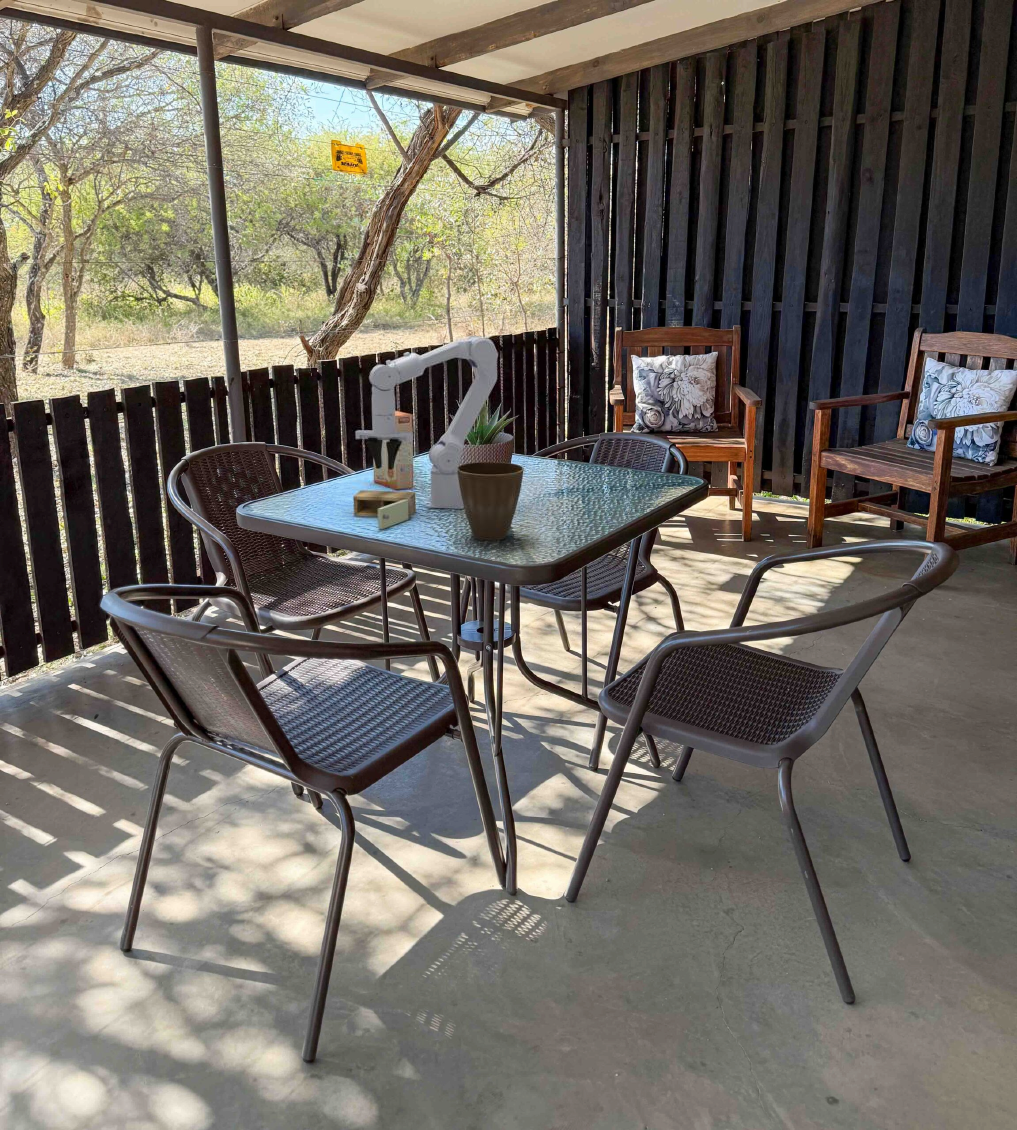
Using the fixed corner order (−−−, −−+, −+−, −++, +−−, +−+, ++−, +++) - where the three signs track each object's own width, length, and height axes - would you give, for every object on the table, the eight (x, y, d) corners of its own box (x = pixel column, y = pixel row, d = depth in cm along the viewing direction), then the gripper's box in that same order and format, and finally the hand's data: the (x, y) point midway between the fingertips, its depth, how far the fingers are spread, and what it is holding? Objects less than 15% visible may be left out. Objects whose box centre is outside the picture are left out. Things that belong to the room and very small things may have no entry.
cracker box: (415, 488, 268) (413, 413, 262) (395, 491, 265) (394, 415, 259) (391, 480, 279) (389, 408, 273) (373, 482, 276) (370, 409, 270)
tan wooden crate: (415, 511, 241) (415, 492, 239) (409, 518, 234) (409, 498, 233) (361, 509, 242) (360, 490, 241) (354, 516, 236) (353, 496, 234)
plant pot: (531, 543, 213) (532, 472, 208) (466, 547, 208) (466, 475, 204) (512, 527, 226) (512, 460, 222) (450, 531, 222) (450, 463, 218)
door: (408, 517, 234) (407, 497, 233) (415, 518, 233) (415, 498, 232) (377, 529, 223) (377, 508, 221) (385, 530, 222) (384, 509, 220)
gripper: (416, 413, 239) (417, 467, 243) (362, 411, 242) (363, 464, 246) (407, 417, 232) (408, 472, 236) (351, 414, 235) (353, 468, 239)
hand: (384, 468), depth 241 cm, fingers open, 3 cm apart
